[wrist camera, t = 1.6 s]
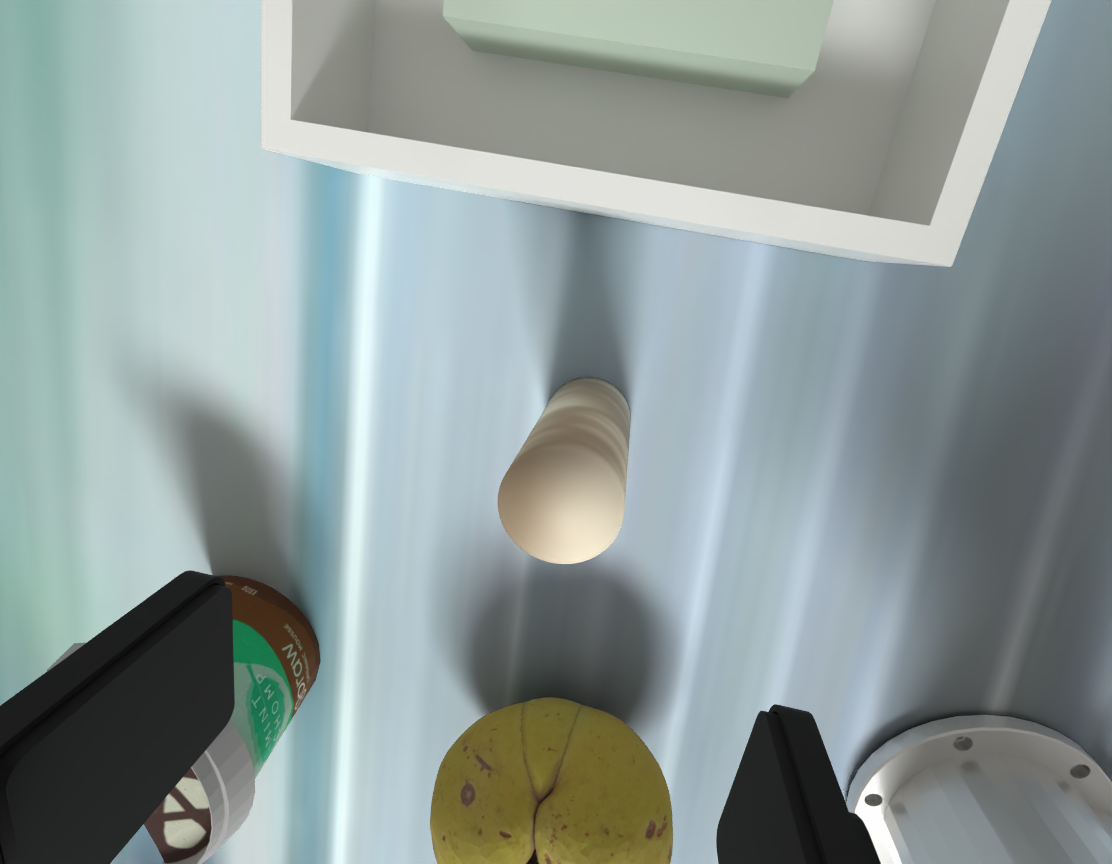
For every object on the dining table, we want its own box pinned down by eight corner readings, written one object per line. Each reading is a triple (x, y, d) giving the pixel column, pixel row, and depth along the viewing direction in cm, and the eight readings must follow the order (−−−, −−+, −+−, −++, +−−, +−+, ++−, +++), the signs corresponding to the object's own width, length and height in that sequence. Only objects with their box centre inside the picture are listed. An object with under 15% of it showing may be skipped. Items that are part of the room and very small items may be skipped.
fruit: (635, 831, 35) (632, 1046, 26) (449, 773, 36) (380, 962, 26) (690, 689, 31) (711, 878, 22) (483, 627, 32) (416, 785, 23)
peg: (638, 386, 27) (636, 462, 17) (621, 465, 28) (610, 576, 19) (554, 369, 27) (506, 435, 18) (540, 448, 28) (490, 549, 19)
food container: (367, 717, 35) (267, 889, 26) (280, 726, 37) (154, 892, 27) (295, 537, 32) (150, 659, 23) (202, 554, 33) (28, 675, 24)
